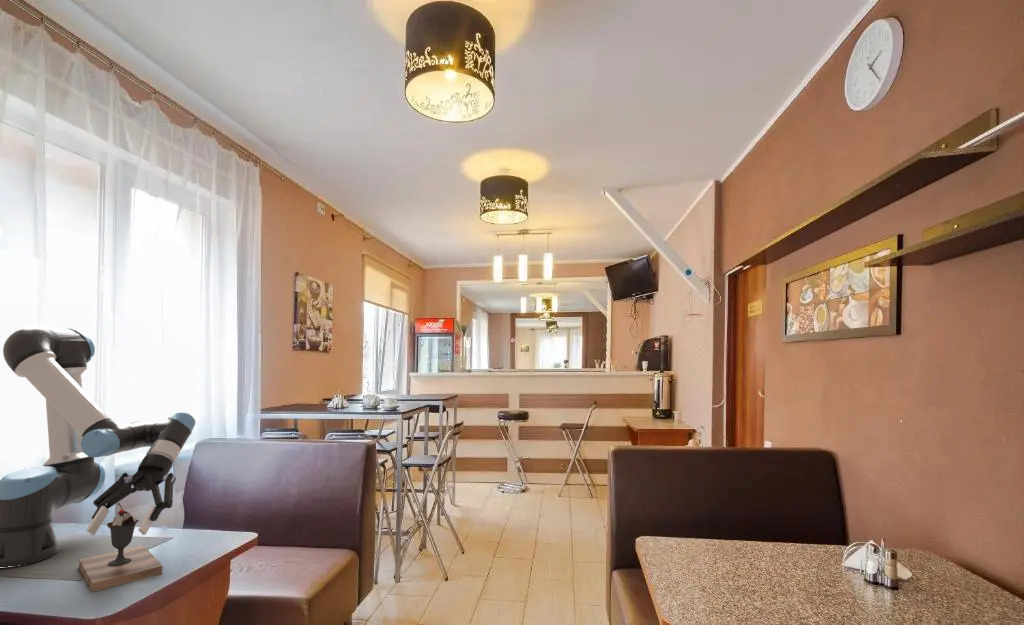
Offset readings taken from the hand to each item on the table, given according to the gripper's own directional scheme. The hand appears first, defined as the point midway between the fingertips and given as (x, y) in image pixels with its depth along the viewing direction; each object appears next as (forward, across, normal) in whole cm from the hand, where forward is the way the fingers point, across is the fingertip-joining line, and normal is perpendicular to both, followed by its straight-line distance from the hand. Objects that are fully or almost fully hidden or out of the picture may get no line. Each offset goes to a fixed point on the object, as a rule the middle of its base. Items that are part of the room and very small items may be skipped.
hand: (116, 532), depth 128 cm
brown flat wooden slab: (+6, 0, -9) cm, 11 cm away
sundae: (+4, 0, -8) cm, 9 cm away
